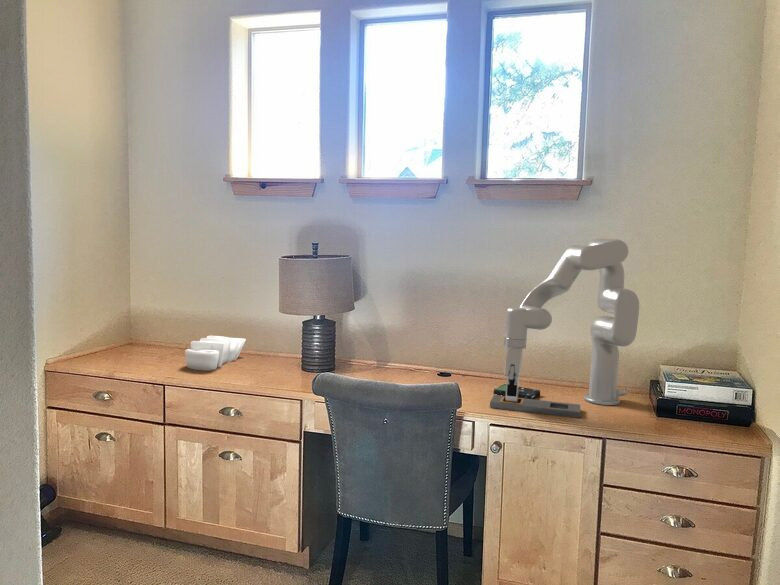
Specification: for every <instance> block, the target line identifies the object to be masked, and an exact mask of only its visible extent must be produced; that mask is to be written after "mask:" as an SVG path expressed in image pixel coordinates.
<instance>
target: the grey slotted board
mask: <svg viewBox="0 0 780 585" xmlns="http://www.w3.org/2000/svg"><path fill="white" fill-rule="evenodd" d="M505 397H506V396H500V395H495V394H493V396H492V398H491V400H490V401H489V408H490V407H491V408H490V409H497V408H500V409H499V410H506V409H508V411H514V410H515V411H517V412H523V413H533V414H541V415H550V416H557V417H569V418H575V419H580V418H581V404H577V403H568V402H561V401H560V402H559V401H551V400H550V401H549V400H543V399H542V400H541V399H525V398H518V403H512V402H505ZM515 411H514V412H515Z"/></svg>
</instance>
